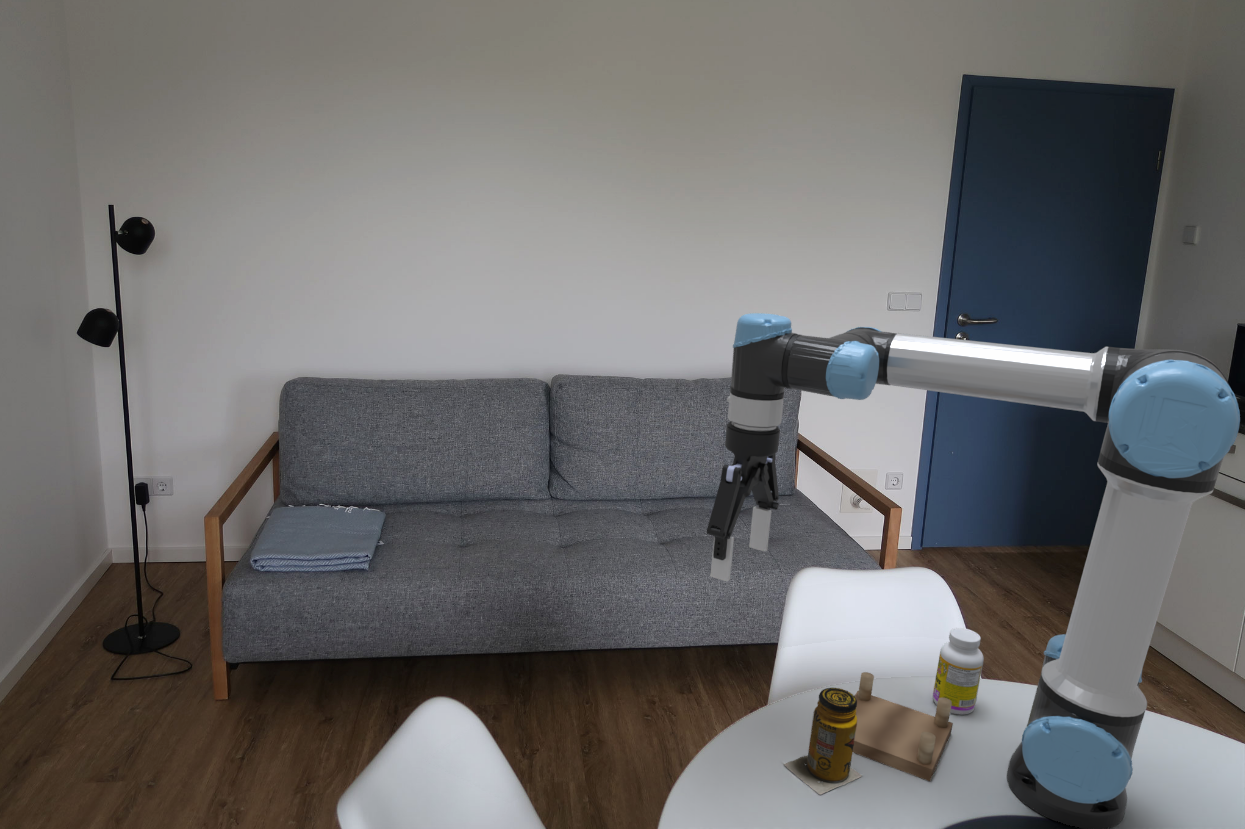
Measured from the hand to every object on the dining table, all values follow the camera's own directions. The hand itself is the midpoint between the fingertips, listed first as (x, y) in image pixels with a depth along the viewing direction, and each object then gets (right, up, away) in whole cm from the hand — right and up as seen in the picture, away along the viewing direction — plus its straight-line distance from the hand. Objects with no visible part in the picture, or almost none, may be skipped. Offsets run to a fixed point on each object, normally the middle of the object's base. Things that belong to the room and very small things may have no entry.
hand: (739, 563), depth 131 cm
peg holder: (+24, -28, +5) cm, 37 cm away
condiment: (+11, -29, -4) cm, 32 cm away
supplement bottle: (+37, -26, +16) cm, 48 cm away
